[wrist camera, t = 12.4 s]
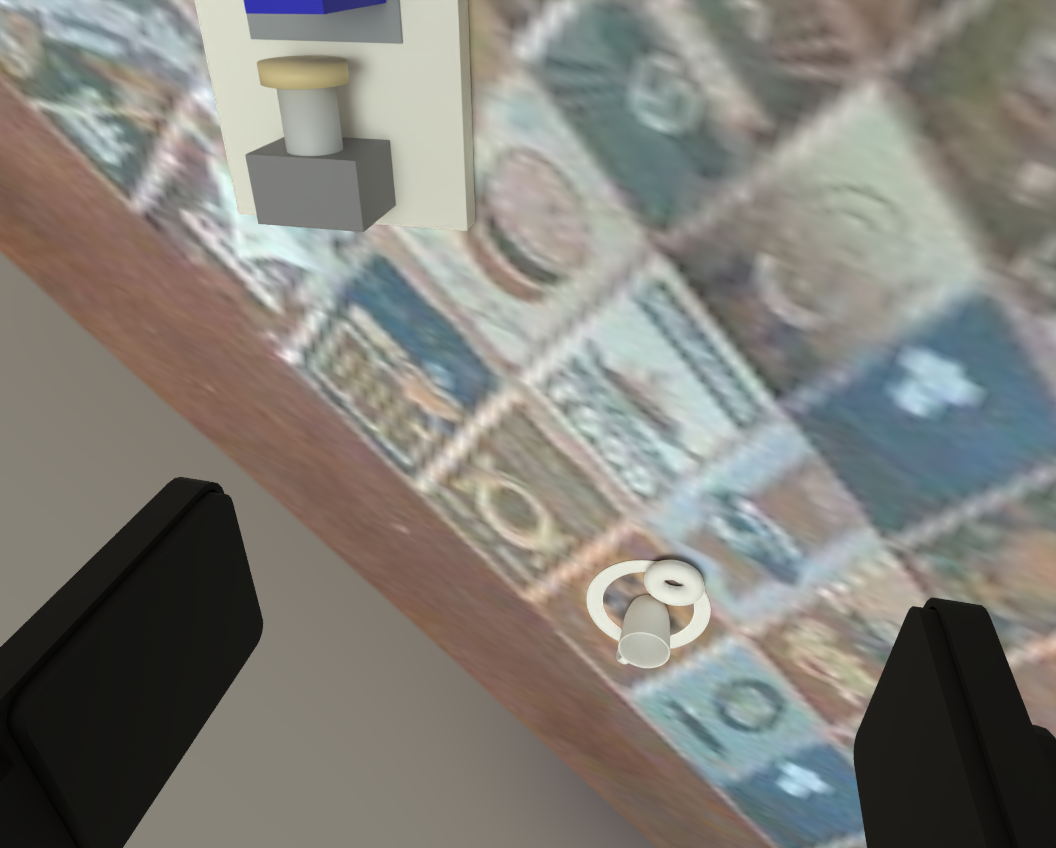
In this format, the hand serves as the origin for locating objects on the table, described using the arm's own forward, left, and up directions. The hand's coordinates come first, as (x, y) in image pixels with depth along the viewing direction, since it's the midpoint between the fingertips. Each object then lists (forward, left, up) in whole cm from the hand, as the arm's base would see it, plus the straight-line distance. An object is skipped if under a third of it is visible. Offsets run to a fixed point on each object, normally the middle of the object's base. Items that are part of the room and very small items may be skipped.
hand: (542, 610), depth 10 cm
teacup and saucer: (-5, +28, -29) cm, 41 cm away
